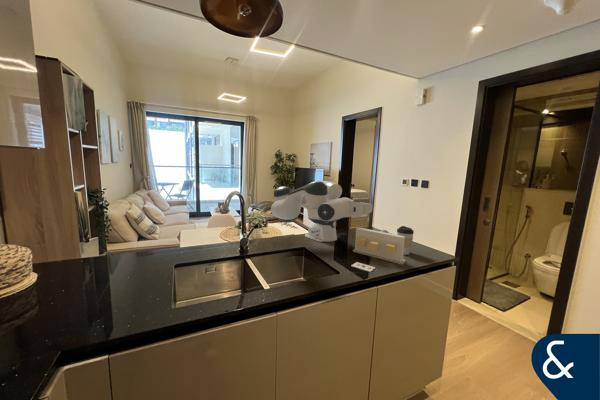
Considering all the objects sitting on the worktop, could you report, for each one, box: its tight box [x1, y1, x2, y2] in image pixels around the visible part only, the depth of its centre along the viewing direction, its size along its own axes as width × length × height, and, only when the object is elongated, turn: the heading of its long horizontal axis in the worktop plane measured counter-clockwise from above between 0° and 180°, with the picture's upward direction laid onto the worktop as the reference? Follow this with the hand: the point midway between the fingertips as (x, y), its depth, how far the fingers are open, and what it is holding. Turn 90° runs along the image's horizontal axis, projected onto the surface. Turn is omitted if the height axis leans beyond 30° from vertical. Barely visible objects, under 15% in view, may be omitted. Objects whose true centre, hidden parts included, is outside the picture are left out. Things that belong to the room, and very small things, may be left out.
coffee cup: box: [396, 225, 415, 256], centre depth 142 cm, size 9×9×15 cm
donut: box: [378, 229, 390, 245], centre depth 155 cm, size 10×4×10 cm, turn 120°
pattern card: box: [350, 261, 376, 273], centre depth 122 cm, size 10×6×1 cm, turn 51°
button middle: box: [369, 241, 380, 252], centre depth 132 cm, size 4×7×4 cm, turn 141°
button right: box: [386, 243, 396, 254], centre depth 129 cm, size 4×7×4 cm, turn 141°
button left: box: [357, 237, 367, 247], centre depth 139 cm, size 4×7×4 cm, turn 141°
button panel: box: [352, 227, 406, 266], centre depth 136 cm, size 28×5×14 cm, turn 51°
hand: (357, 203), depth 122 cm, fingers closed
